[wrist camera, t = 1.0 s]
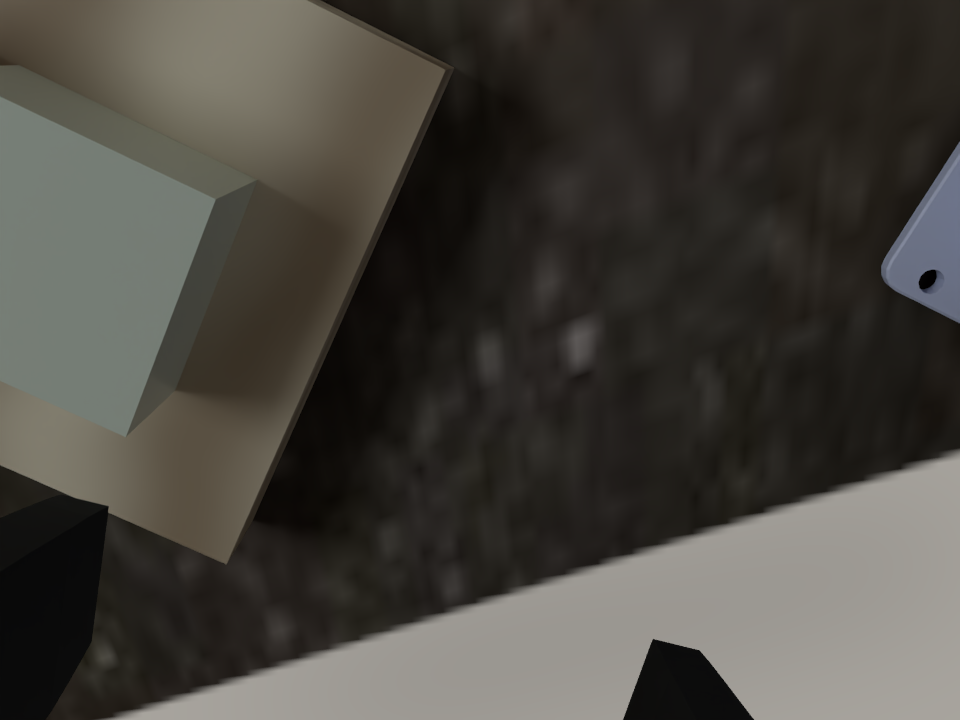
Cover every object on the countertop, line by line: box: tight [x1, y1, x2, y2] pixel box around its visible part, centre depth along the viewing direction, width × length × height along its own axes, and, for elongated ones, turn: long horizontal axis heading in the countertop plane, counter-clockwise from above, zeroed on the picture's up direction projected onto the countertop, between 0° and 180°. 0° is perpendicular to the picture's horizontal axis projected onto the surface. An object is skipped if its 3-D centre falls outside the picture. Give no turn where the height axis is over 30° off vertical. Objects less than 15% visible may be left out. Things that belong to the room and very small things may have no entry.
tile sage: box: [0, 65, 257, 437], centre depth 18 cm, size 5×5×2 cm
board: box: [0, 0, 454, 564], centre depth 20 cm, size 14×12×2 cm
